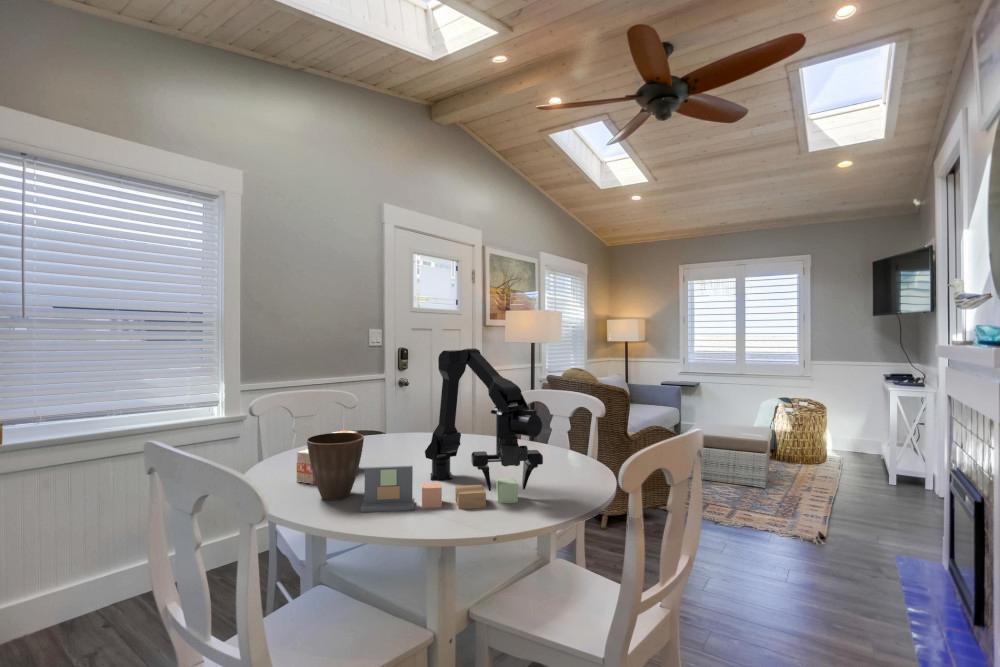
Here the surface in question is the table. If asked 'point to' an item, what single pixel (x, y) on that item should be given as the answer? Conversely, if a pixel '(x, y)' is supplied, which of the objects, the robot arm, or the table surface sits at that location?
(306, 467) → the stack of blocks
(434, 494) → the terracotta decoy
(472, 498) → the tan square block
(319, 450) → the plant pot
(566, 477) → the table surface
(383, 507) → the card
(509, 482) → the sage block
